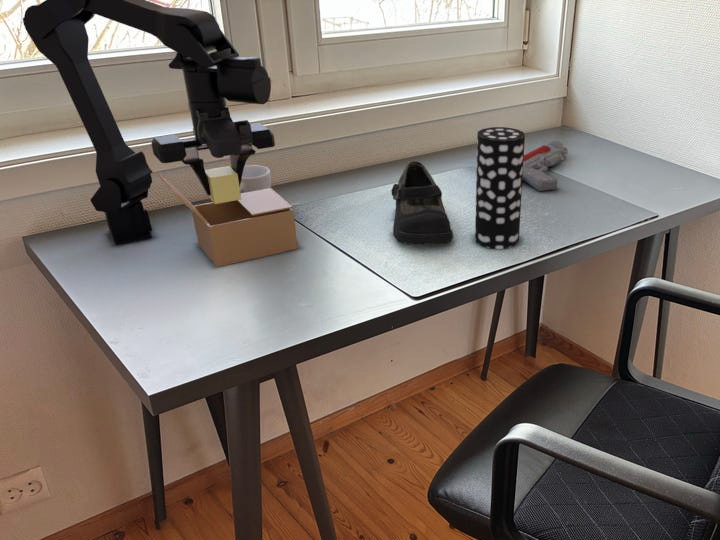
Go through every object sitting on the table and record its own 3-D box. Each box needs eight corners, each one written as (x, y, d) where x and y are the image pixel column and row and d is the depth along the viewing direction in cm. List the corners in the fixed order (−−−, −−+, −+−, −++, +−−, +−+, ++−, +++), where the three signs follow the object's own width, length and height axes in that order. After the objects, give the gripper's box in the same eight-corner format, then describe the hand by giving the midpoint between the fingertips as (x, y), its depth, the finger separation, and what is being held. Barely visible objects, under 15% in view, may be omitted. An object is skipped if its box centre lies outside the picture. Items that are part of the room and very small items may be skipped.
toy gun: (600, 151, 177) (546, 137, 183) (549, 182, 158) (489, 165, 164) (598, 165, 179) (544, 151, 185) (547, 197, 160) (488, 180, 166)
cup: (258, 224, 142) (252, 184, 138) (220, 220, 143) (213, 180, 139) (281, 204, 151) (276, 166, 147) (245, 201, 152) (239, 163, 148)
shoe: (397, 256, 132) (395, 203, 126) (385, 207, 151) (383, 159, 146) (457, 252, 134) (458, 200, 128) (438, 204, 153) (438, 157, 148)
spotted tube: (473, 231, 142) (475, 127, 131) (515, 230, 143) (521, 127, 132) (476, 249, 135) (479, 141, 124) (521, 248, 136) (528, 140, 125)
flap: (208, 222, 122) (207, 224, 122) (190, 202, 129) (189, 203, 129) (175, 193, 117) (174, 194, 117) (158, 173, 124) (157, 174, 124)
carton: (216, 267, 126) (208, 223, 122) (198, 244, 134) (190, 202, 129) (298, 248, 133) (293, 206, 129) (276, 228, 141) (271, 187, 136)
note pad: (214, 204, 124) (210, 178, 122) (206, 196, 127) (202, 170, 125) (241, 199, 126) (237, 173, 124) (233, 191, 130) (228, 165, 127)
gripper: (158, 118, 108) (180, 218, 116) (280, 103, 117) (292, 197, 125) (141, 101, 116) (162, 196, 124) (256, 88, 124) (269, 177, 133)
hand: (223, 192), depth 126 cm, fingers closed on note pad, 4 cm apart
